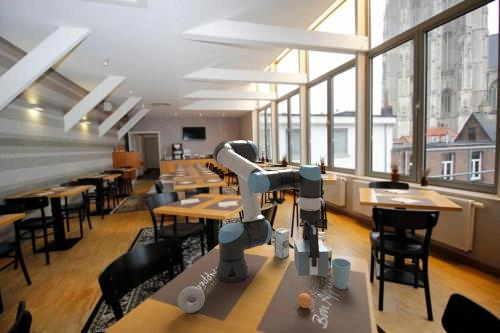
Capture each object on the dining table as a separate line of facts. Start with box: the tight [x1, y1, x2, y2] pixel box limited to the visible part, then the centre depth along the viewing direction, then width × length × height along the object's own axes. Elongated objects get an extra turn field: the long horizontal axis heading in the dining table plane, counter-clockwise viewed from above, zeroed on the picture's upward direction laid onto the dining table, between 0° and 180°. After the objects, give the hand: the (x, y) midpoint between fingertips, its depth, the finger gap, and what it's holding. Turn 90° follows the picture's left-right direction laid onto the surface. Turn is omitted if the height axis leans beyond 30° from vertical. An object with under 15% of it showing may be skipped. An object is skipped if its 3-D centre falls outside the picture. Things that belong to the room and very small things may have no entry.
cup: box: [331, 257, 352, 290], centre depth 104 cm, size 8×8×10 cm
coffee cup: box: [324, 244, 333, 276], centre depth 115 cm, size 9×9×12 cm
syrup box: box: [274, 227, 290, 260], centre depth 132 cm, size 6×6×14 cm
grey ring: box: [176, 285, 206, 314], centre depth 90 cm, size 10×4×10 cm, turn 100°
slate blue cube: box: [293, 239, 329, 277], centre depth 90 cm, size 10×10×9 cm
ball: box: [297, 292, 312, 309], centre depth 91 cm, size 5×5×5 cm
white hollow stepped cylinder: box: [318, 231, 326, 244], centre depth 127 cm, size 7×7×15 cm
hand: (310, 266), depth 90 cm, fingers closed on slate blue cube, 10 cm apart
